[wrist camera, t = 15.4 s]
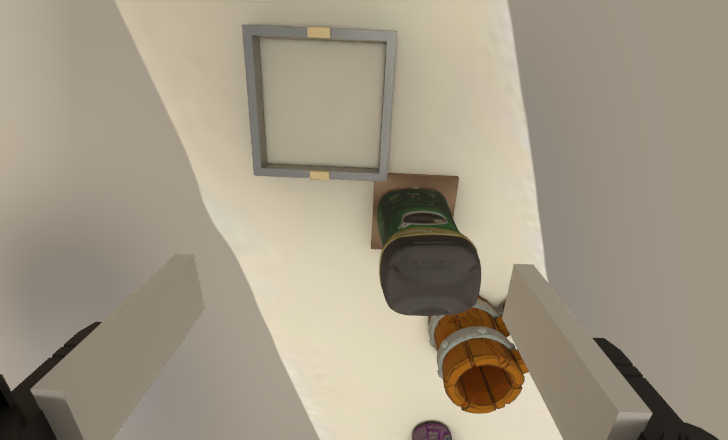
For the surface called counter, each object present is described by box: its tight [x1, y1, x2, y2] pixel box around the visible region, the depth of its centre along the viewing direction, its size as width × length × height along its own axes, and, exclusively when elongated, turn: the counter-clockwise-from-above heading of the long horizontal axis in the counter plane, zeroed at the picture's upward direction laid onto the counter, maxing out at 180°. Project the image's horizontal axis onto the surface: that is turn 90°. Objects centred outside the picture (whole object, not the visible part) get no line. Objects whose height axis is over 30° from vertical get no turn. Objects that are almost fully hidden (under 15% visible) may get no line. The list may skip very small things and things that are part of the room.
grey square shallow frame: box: [242, 25, 397, 182], centre depth 42 cm, size 17×17×3 cm
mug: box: [429, 296, 529, 413], centre depth 48 cm, size 11×16×15 cm, turn 118°
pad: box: [371, 173, 459, 249], centre depth 48 cm, size 11×11×1 cm
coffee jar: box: [377, 189, 481, 316], centre depth 39 cm, size 10×8×19 cm
